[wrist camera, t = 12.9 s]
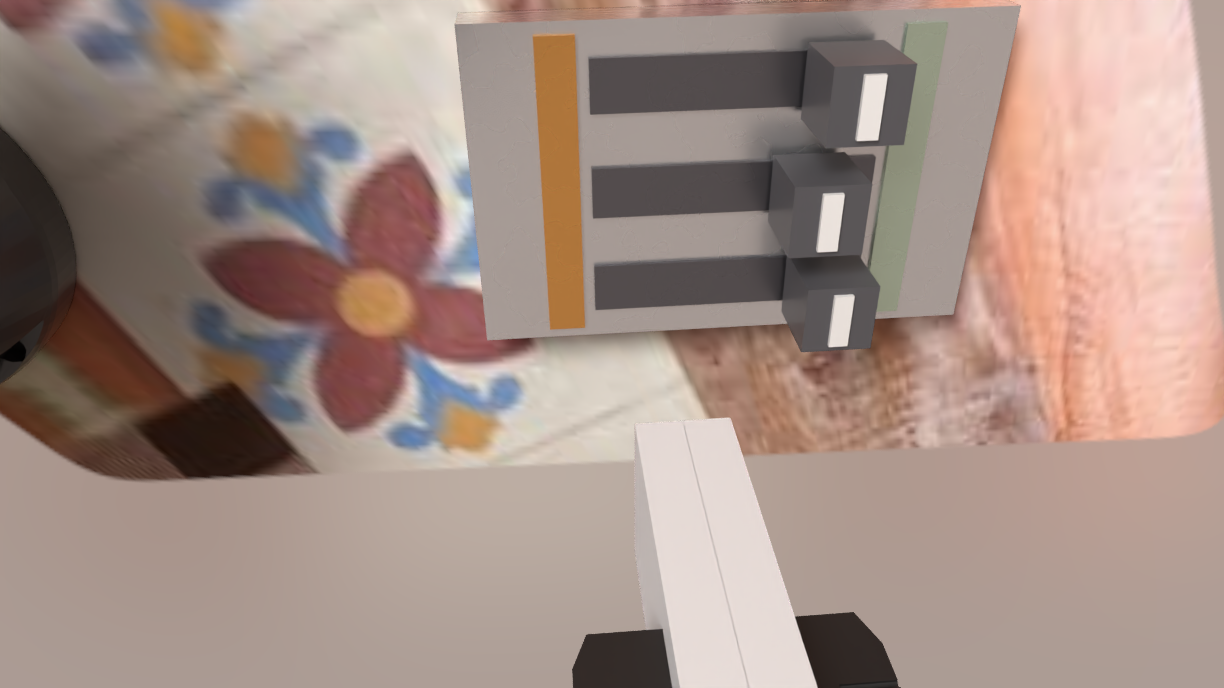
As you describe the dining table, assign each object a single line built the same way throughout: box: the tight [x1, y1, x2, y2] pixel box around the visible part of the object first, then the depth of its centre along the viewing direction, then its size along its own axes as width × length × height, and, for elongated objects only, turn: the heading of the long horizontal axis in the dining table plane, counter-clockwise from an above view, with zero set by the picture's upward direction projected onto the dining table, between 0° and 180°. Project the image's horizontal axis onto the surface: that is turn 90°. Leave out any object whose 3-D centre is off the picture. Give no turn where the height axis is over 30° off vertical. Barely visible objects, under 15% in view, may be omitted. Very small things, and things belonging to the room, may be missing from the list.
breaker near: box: [801, 40, 917, 148], centre depth 34 cm, size 3×3×4 cm
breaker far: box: [781, 255, 881, 352], centre depth 39 cm, size 3×3×4 cm
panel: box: [455, 0, 1021, 340], centre depth 39 cm, size 22×14×2 cm, turn 91°
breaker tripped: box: [768, 152, 872, 258], centre depth 36 cm, size 3×3×4 cm
